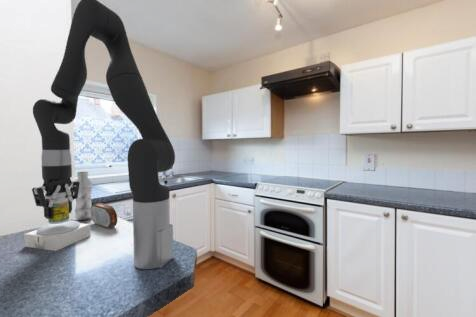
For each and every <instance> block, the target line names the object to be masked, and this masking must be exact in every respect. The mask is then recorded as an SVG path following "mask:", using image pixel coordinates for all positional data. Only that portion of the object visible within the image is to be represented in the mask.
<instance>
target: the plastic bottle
mask: <svg viewBox="0 0 476 317" xmlns="http://www.w3.org/2000/svg"><path fill="white" fill-rule="evenodd" d="M76 177H77V179H76V180H75V181H77V182H80V184H79V191H78V198H77V199H75V208H74V212H75V216H74V219H75V221H85V220H88V219H92V218H91V207H92V205H93V204H92V191H93V190H92V189H93V183H92V181H91V179H90V178H89V172H88V171H78V172H77V176H76Z"/></svg>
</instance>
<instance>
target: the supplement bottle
mask: <svg viewBox="0 0 476 317" xmlns="http://www.w3.org/2000/svg"><path fill="white" fill-rule="evenodd" d="M65 195H66V193H65V192H62V193H58V195H57V198H56V200H54V203H53V205H52V207H53V218H52V219H47V220H48V224H59V223H63V222H67V221H70V213H69V201H68V199H67V198H65ZM50 197H51V195H50Z"/></svg>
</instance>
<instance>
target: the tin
mask: <svg viewBox="0 0 476 317" xmlns="http://www.w3.org/2000/svg"><path fill="white" fill-rule="evenodd" d="M90 219H91V220H92V222H93V223H94V224H95V225H97V226H100V227H103V228H105V229H111V228H113V227H114V228H115V226H117V224H118V215H117V211H116V210H115V208H114V207H113V206H112V205H109V204H106V203H102V202H98V203H95V204H92V207H91V218H90Z"/></svg>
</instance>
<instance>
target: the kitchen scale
mask: <svg viewBox="0 0 476 317" xmlns="http://www.w3.org/2000/svg"><path fill="white" fill-rule="evenodd" d="M89 237H91V223H82V222H79V220H68V221H67V222H63V223H59V224H50V223H48V224H45V225H42V226H39V227H38V228H37V229H35V230H32V231H29V232H26V233H24V247H25V246H26V247H25V248H31V249H40V250H47V251H54V252H58V251H60V250H61V249H64V248H66V247H67V246H70V245H73V244H74V243H76V242H77V243H78V242H79V241H81V240H84V239H86V238H89Z"/></svg>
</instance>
